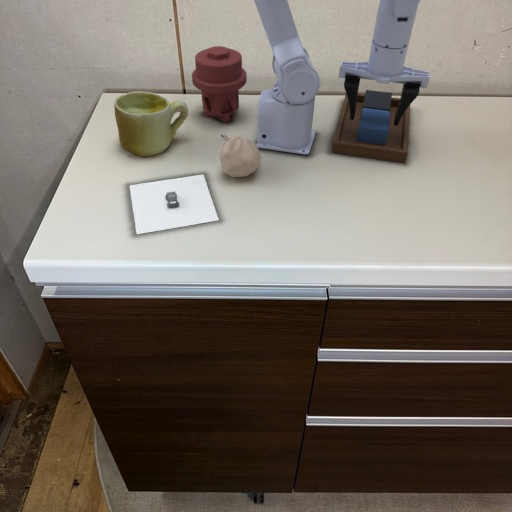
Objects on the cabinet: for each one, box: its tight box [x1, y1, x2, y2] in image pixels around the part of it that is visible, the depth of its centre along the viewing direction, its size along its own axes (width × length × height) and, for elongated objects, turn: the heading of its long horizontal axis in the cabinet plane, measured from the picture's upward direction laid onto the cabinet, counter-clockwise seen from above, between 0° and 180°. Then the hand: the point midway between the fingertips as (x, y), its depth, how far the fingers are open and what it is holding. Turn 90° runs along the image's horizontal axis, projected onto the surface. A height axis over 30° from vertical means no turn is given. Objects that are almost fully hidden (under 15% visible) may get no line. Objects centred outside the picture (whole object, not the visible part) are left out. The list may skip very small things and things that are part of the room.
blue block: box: [357, 108, 390, 145], centre depth 85 cm, size 5×7×3 cm
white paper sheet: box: [129, 174, 220, 235], centre depth 72 cm, size 12×12×2 cm
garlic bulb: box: [219, 133, 261, 178], centre depth 75 cm, size 7×6×8 cm
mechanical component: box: [191, 45, 248, 123], centre depth 88 cm, size 12×10×10 cm
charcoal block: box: [360, 89, 393, 120], centre depth 90 cm, size 5×7×3 cm
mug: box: [113, 90, 190, 158], centre depth 81 cm, size 12×10×10 cm
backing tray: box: [331, 92, 411, 164], centre depth 88 cm, size 13×20×2 cm, turn 166°
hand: (374, 120), depth 84 cm, fingers open, 7 cm apart
